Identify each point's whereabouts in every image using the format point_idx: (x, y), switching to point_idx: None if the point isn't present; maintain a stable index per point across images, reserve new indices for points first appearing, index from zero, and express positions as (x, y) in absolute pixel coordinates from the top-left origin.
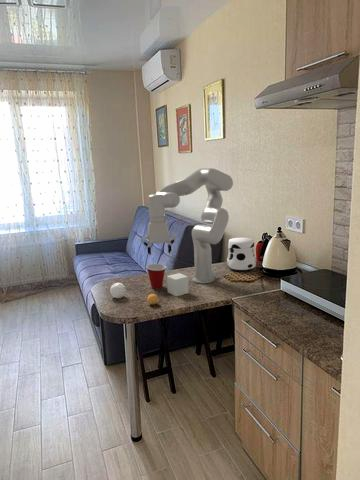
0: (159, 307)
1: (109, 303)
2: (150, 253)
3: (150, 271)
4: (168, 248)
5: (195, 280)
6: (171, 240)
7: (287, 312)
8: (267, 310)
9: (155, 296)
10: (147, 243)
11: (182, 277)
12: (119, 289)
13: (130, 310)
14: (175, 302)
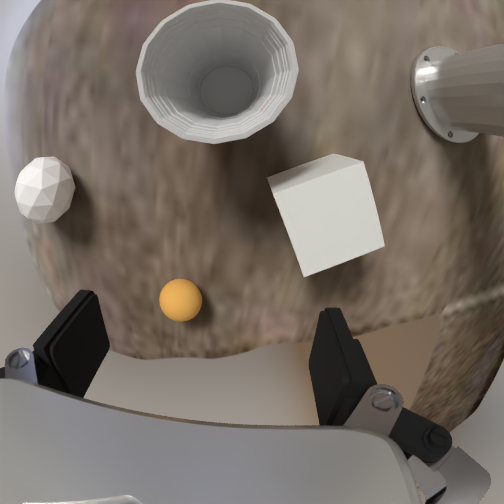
0: (207, 321)
1: (44, 234)
2: (99, 360)
3: (166, 114)
4: (321, 387)
5: (422, 96)
6: (410, 451)
7: (463, 386)
8: (448, 379)
9: (190, 318)
10: (5, 375)
11: (353, 251)
12: (44, 221)
13: (113, 312)
14: (272, 297)
